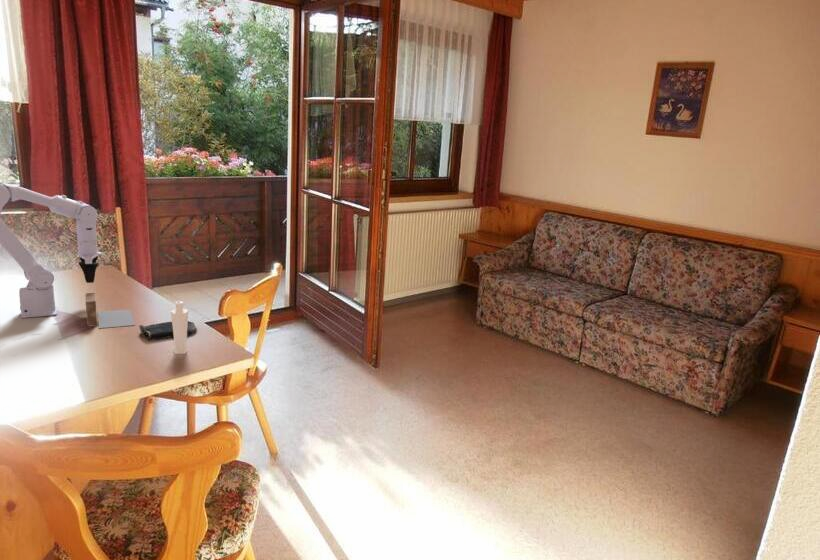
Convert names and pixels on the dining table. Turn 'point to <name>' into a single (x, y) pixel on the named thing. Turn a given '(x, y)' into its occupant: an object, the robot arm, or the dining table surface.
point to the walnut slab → (91, 309)
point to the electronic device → (163, 330)
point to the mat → (115, 318)
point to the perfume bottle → (180, 328)
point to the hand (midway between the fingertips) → (90, 279)
